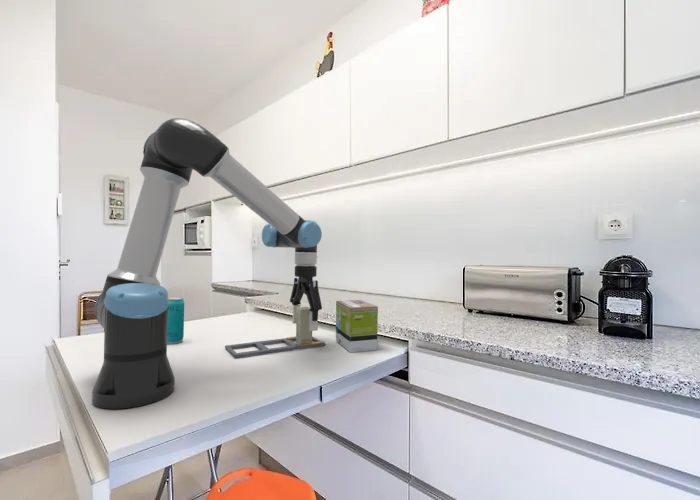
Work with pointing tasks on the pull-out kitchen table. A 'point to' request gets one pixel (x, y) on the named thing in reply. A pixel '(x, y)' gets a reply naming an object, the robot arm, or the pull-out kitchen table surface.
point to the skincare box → (303, 325)
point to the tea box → (356, 325)
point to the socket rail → (265, 350)
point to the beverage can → (175, 320)
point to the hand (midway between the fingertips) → (304, 326)
